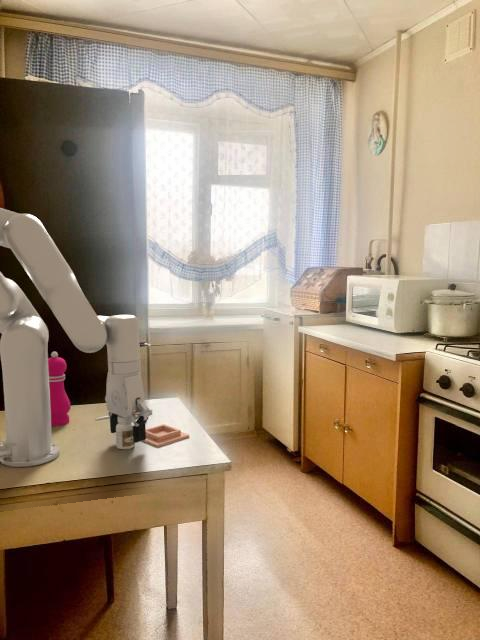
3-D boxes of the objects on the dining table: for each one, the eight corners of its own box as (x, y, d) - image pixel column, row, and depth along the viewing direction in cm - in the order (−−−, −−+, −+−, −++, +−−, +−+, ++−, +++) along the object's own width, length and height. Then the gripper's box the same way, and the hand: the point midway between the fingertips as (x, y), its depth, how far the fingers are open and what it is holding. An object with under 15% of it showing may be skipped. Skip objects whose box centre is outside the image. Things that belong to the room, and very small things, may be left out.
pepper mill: (37, 425, 141) (34, 353, 138) (55, 417, 147) (52, 348, 145) (60, 428, 138) (56, 354, 136) (76, 420, 145) (73, 350, 143)
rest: (157, 447, 124) (157, 440, 124) (133, 437, 131) (133, 430, 131) (189, 437, 132) (189, 430, 131) (165, 428, 138) (165, 421, 138)
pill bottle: (126, 451, 122) (125, 419, 121) (112, 447, 124) (111, 416, 123) (138, 445, 126) (138, 414, 125) (125, 442, 128) (124, 411, 127)
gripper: (91, 364, 126) (95, 432, 128) (131, 375, 114) (135, 449, 116) (118, 359, 131) (121, 424, 134) (159, 369, 119) (162, 440, 122)
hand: (127, 436), depth 125 cm, fingers open, 9 cm apart
